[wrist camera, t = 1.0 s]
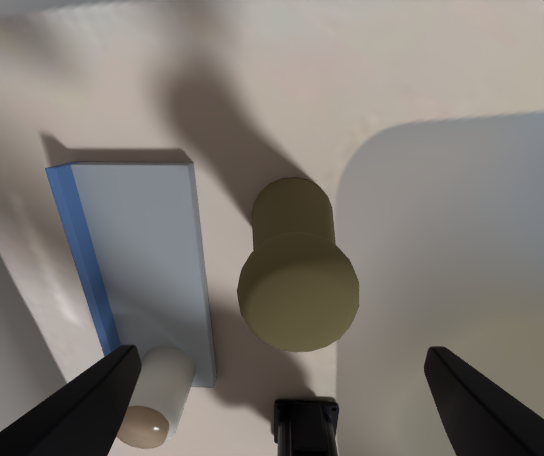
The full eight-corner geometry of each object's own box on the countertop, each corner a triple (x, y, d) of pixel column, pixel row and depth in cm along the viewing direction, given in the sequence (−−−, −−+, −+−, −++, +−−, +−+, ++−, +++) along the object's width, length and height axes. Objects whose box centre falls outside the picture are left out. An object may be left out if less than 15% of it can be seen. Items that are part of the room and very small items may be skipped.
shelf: (216, 376, 27) (210, 401, 25) (131, 373, 28) (117, 397, 25) (193, 162, 19) (181, 169, 17) (73, 162, 20) (44, 168, 17)
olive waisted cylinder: (323, 167, 19) (369, 228, 9) (339, 243, 21) (390, 363, 11) (241, 189, 20) (196, 268, 10) (264, 260, 22) (247, 385, 12)
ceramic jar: (198, 387, 26) (177, 454, 21) (147, 385, 26) (114, 451, 21) (192, 347, 24) (168, 410, 19) (137, 345, 24) (98, 407, 19)
